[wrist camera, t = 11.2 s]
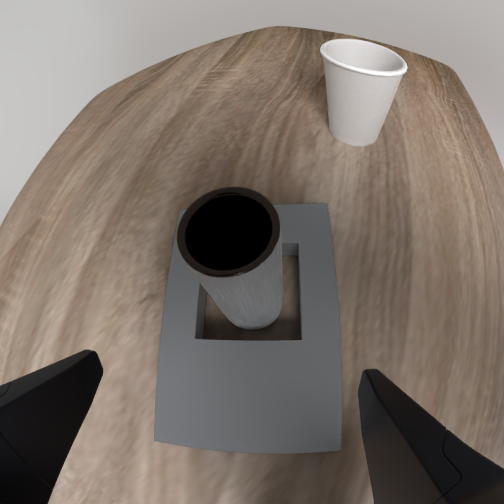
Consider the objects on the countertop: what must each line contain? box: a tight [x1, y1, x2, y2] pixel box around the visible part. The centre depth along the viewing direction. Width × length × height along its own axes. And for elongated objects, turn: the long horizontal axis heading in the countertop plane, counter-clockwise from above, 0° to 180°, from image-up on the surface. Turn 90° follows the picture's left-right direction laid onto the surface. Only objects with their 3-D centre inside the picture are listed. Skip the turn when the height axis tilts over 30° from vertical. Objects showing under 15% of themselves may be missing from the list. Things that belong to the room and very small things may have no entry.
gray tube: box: [176, 187, 284, 330], centre depth 17 cm, size 4×4×10 cm
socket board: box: [154, 203, 342, 454], centre depth 19 cm, size 18×12×2 cm, turn 179°
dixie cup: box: [320, 39, 407, 146], centre depth 24 cm, size 8×8×10 cm
